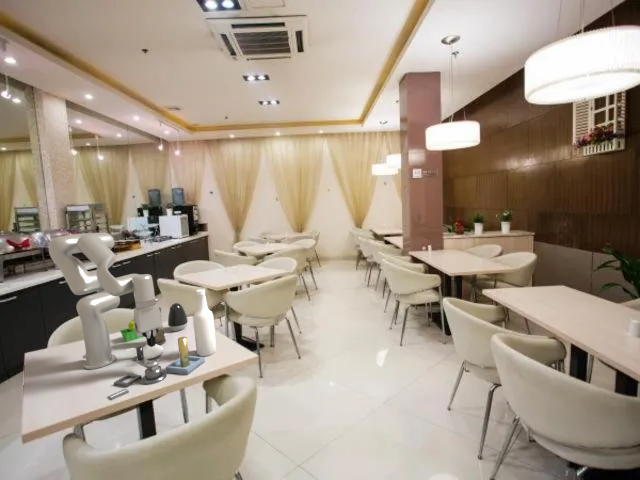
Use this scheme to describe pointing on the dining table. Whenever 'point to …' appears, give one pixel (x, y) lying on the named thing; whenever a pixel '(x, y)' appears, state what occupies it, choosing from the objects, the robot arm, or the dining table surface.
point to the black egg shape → (177, 317)
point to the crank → (145, 360)
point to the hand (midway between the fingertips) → (152, 345)
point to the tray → (177, 368)
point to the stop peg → (183, 351)
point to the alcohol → (204, 326)
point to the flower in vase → (152, 350)
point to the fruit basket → (129, 332)
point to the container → (160, 335)
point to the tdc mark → (118, 394)
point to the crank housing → (149, 378)
